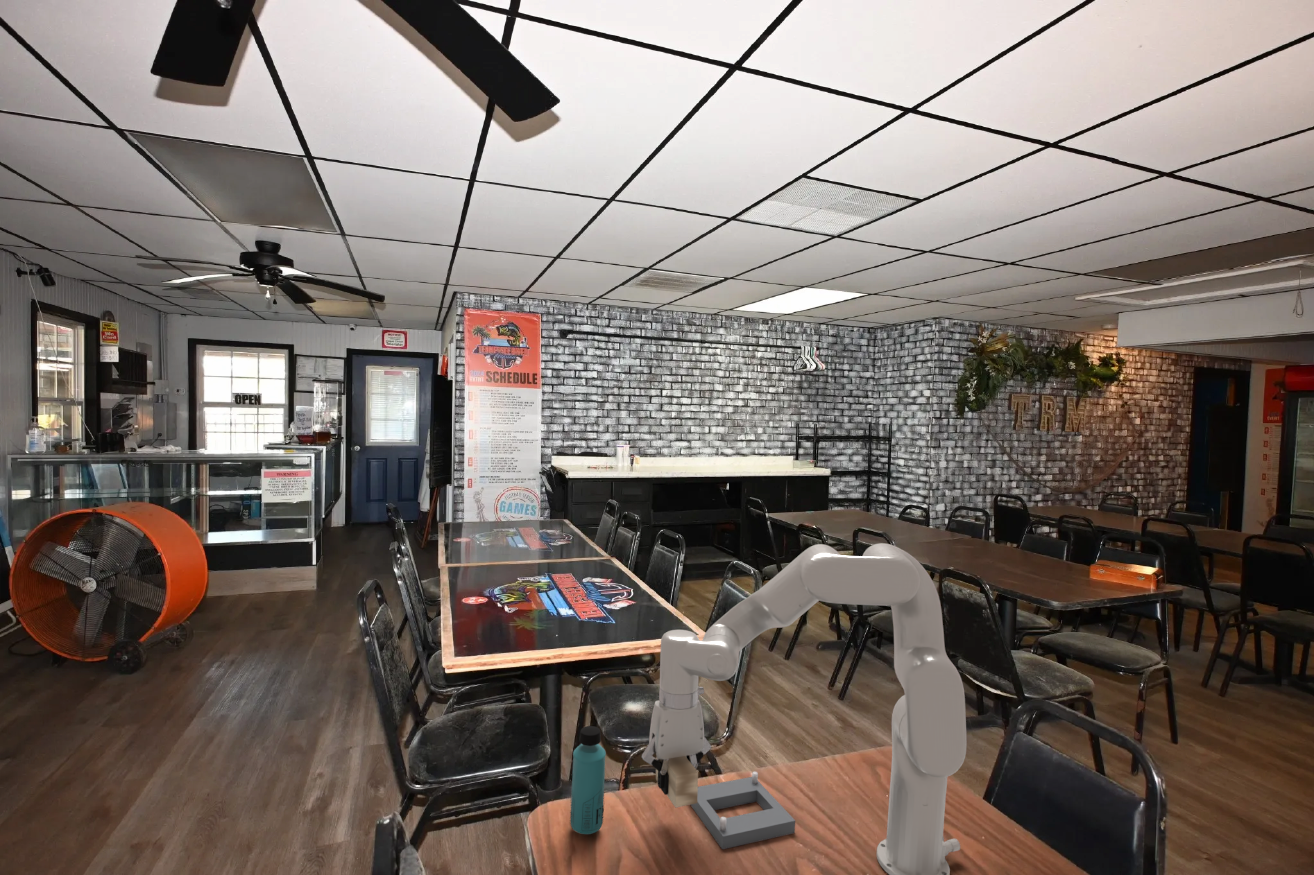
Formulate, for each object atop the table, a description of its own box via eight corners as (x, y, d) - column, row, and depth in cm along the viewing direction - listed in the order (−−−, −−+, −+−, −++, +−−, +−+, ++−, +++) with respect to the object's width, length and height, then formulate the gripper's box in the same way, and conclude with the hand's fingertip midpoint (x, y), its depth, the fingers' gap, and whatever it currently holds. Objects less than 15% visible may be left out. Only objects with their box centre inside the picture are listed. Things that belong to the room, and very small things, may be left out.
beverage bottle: (597, 845, 120) (602, 740, 119) (563, 839, 121) (568, 735, 121) (607, 824, 126) (612, 724, 126) (574, 818, 128) (579, 719, 127)
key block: (676, 775, 131) (677, 746, 131) (697, 803, 122) (698, 772, 122) (655, 779, 130) (656, 750, 129) (675, 808, 120) (676, 776, 120)
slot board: (753, 787, 142) (754, 767, 141) (794, 833, 127) (795, 810, 127) (687, 800, 136) (688, 779, 136) (722, 849, 121) (723, 826, 121)
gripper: (709, 683, 132) (706, 770, 132) (631, 694, 125) (628, 786, 126) (726, 698, 125) (723, 790, 125) (644, 710, 118) (642, 808, 119)
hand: (676, 787), depth 126 cm, fingers closed on key block, 4 cm apart
